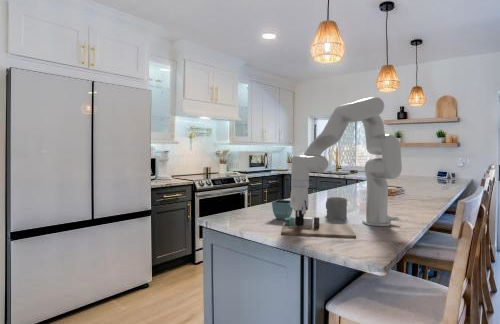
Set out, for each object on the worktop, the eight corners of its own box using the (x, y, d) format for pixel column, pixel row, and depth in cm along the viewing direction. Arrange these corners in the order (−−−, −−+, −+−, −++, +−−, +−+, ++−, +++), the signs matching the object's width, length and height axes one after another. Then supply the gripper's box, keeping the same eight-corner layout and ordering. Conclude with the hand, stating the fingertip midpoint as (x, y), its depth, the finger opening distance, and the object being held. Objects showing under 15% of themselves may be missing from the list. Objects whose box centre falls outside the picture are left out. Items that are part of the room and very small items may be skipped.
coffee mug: (350, 219, 160) (350, 199, 160) (332, 220, 158) (332, 200, 158) (337, 213, 174) (337, 195, 173) (320, 214, 171) (321, 196, 171)
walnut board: (349, 227, 145) (349, 215, 144) (356, 238, 127) (356, 225, 127) (283, 224, 149) (283, 213, 149) (281, 234, 132) (281, 222, 131)
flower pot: (271, 219, 159) (271, 202, 159) (278, 216, 167) (278, 199, 167) (287, 221, 155) (287, 203, 155) (293, 218, 163) (293, 200, 163)
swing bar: (289, 225, 142) (289, 217, 142) (290, 224, 144) (290, 216, 144) (312, 226, 139) (312, 218, 139) (312, 225, 142) (312, 217, 141)
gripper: (285, 182, 144) (285, 221, 145) (298, 185, 130) (298, 230, 130) (300, 181, 146) (300, 221, 147) (315, 185, 131) (314, 229, 132)
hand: (299, 225), depth 138 cm, fingers closed
